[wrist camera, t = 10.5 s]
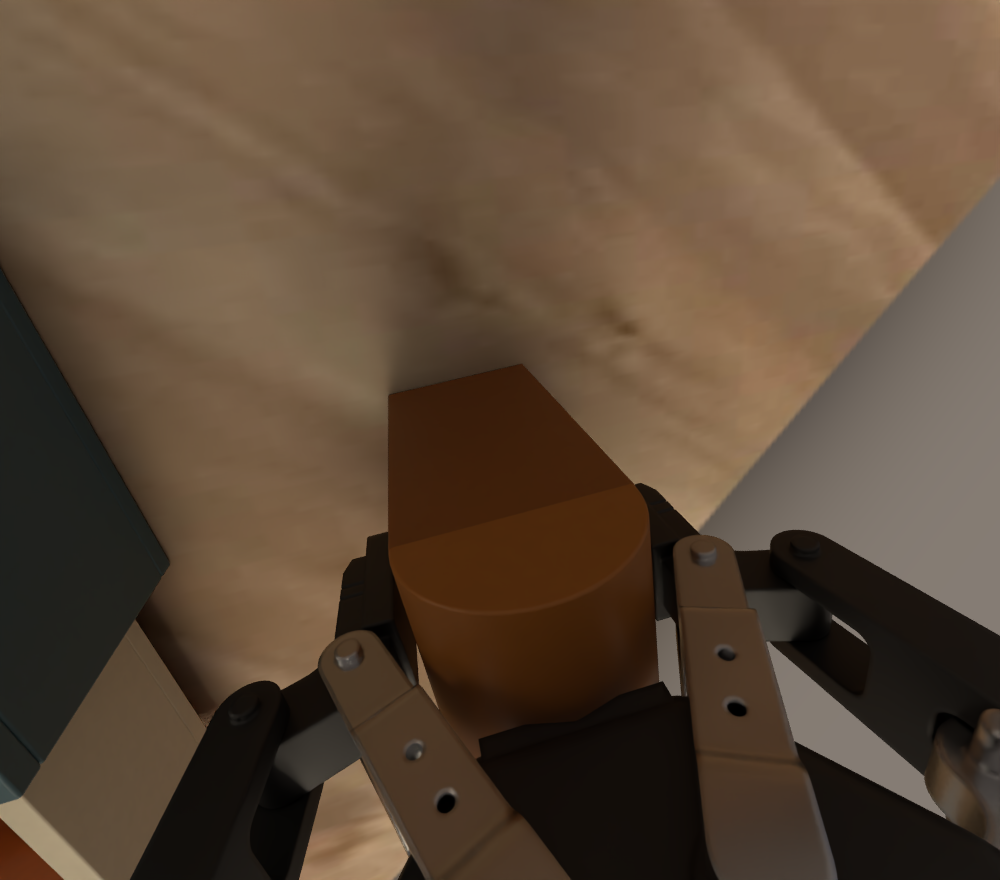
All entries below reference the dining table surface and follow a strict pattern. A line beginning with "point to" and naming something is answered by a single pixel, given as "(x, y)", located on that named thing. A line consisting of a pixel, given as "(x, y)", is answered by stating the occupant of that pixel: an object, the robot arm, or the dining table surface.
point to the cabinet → (57, 552)
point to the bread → (516, 555)
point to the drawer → (104, 775)
